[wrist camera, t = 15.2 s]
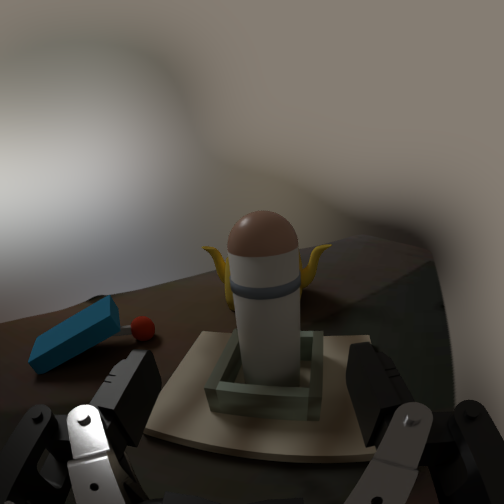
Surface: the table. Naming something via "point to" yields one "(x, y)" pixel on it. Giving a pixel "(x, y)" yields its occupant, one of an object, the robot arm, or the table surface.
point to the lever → (84, 334)
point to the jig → (262, 404)
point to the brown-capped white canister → (266, 298)
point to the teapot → (224, 270)
